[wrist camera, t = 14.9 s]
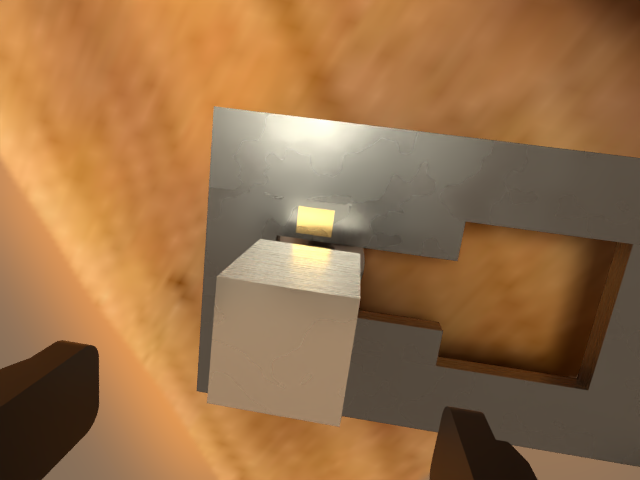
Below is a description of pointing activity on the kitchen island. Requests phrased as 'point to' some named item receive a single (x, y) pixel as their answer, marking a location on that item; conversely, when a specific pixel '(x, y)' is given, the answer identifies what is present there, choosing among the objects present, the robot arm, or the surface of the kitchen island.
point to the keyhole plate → (444, 243)
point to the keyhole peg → (286, 329)
